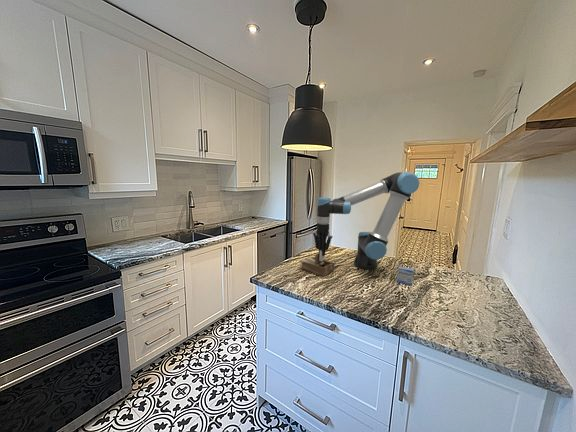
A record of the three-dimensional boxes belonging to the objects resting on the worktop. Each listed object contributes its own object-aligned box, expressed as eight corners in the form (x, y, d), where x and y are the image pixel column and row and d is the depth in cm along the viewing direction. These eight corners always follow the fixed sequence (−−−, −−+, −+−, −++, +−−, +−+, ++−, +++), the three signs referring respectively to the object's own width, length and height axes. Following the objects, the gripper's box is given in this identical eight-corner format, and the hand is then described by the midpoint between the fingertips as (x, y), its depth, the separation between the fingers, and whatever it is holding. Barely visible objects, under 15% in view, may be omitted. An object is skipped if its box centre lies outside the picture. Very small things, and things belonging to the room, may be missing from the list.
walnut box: (313, 265, 164) (313, 257, 163) (333, 271, 154) (334, 263, 153) (302, 270, 155) (302, 261, 154) (323, 277, 145) (323, 268, 144)
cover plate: (308, 258, 164) (308, 248, 163) (324, 263, 156) (324, 253, 155) (299, 262, 158) (299, 251, 157) (316, 267, 149) (316, 256, 148)
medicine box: (396, 282, 139) (398, 268, 138) (397, 279, 143) (398, 265, 142) (412, 285, 136) (413, 270, 134) (412, 282, 140) (413, 268, 138)
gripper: (310, 222, 149) (309, 259, 153) (329, 225, 140) (327, 264, 144) (317, 220, 154) (316, 256, 158) (335, 223, 146) (333, 261, 150)
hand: (321, 260), depth 151 cm, fingers closed
